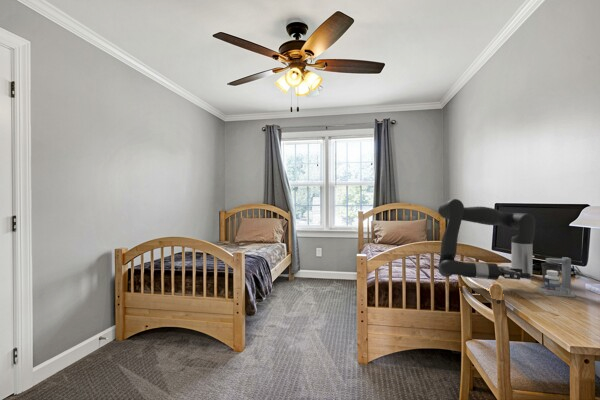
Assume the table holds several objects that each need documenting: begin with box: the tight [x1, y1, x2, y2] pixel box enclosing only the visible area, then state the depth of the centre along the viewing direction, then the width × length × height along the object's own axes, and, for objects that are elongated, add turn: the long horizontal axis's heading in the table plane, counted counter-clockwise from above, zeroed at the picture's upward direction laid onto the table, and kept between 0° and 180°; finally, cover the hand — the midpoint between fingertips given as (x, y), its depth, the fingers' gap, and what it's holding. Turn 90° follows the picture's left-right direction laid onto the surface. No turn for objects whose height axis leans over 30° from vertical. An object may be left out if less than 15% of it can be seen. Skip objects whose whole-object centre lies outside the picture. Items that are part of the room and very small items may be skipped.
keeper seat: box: [536, 256, 576, 298], centre depth 135 cm, size 10×10×16 cm
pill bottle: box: [544, 270, 561, 291], centre depth 135 cm, size 5×5×9 cm
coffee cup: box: [540, 261, 562, 284], centre depth 149 cm, size 8×8×10 cm
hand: (525, 273), depth 138 cm, fingers open, 8 cm apart
